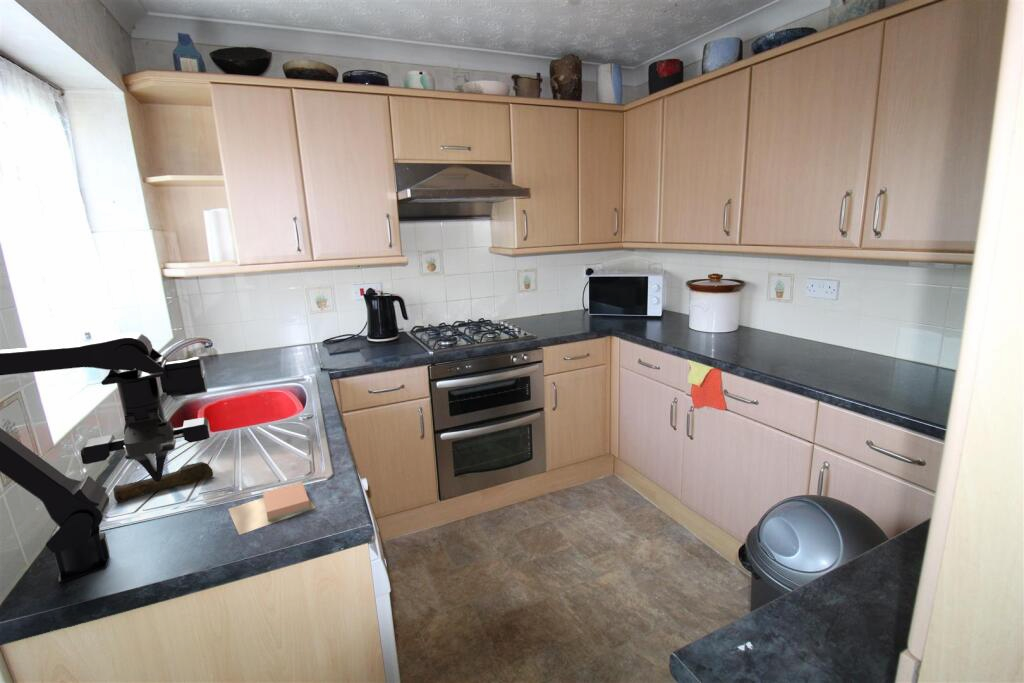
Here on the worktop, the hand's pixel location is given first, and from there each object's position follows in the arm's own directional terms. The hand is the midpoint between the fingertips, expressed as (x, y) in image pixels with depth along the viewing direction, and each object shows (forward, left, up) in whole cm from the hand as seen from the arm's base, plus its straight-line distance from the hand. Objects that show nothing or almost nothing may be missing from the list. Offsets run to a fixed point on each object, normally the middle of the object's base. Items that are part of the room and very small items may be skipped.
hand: (158, 481), depth 93 cm
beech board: (+18, -2, -13) cm, 22 cm away
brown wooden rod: (+1, +27, -14) cm, 30 cm away
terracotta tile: (+17, -2, -11) cm, 20 cm away
